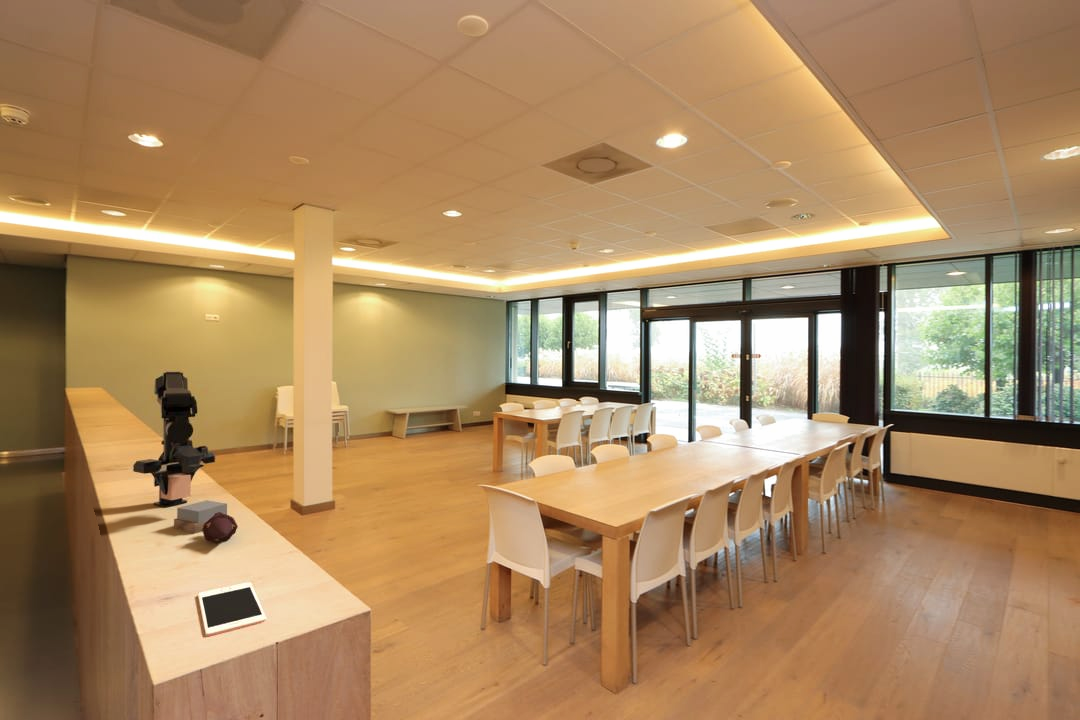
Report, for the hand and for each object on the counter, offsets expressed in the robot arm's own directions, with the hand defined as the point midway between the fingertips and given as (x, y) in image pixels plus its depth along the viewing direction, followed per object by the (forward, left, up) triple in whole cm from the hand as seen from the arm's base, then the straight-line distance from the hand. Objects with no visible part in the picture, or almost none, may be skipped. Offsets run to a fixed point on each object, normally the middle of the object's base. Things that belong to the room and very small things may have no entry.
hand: (175, 492), depth 145 cm
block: (0, 0, -1) cm, 1 cm away
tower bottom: (+14, -1, -8) cm, 16 cm away
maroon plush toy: (+29, -6, -7) cm, 31 cm away
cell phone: (+64, -26, -8) cm, 70 cm away
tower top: (+14, -1, -5) cm, 15 cm away
